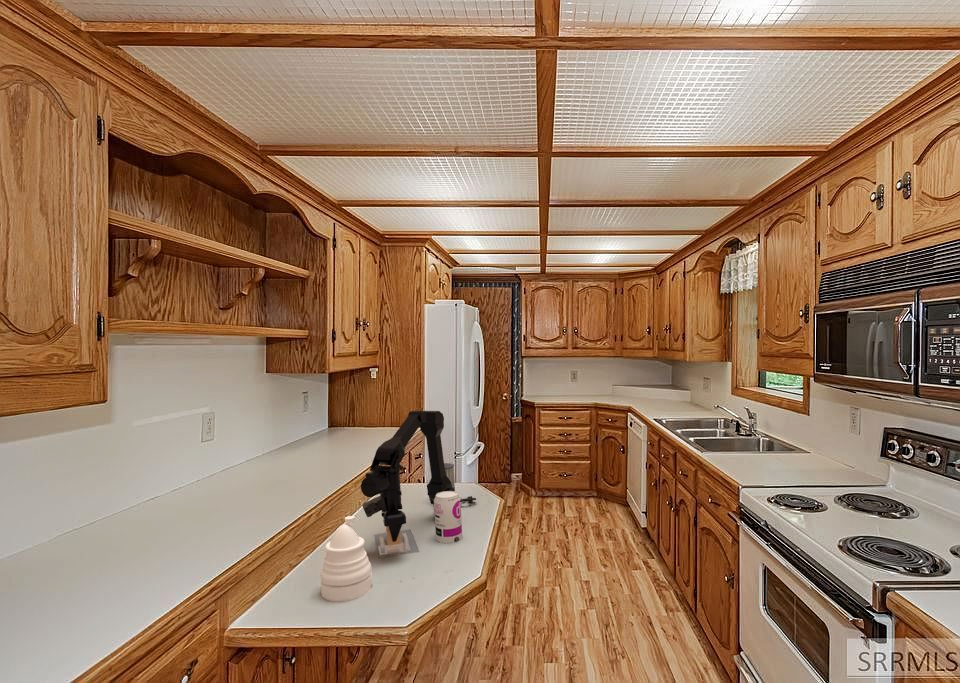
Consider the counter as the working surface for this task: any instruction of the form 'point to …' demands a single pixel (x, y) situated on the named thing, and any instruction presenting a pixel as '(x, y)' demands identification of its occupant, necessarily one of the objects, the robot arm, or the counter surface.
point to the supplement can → (448, 517)
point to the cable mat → (411, 542)
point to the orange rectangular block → (389, 539)
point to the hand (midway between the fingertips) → (393, 539)
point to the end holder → (394, 547)
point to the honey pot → (345, 566)
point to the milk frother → (450, 474)
